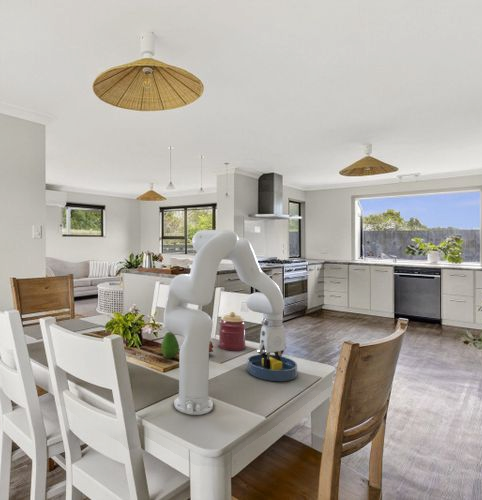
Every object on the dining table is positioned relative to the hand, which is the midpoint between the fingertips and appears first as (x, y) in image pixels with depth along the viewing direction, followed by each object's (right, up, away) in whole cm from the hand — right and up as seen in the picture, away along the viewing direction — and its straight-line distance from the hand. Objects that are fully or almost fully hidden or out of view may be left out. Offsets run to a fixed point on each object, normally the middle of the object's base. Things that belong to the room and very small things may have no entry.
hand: (271, 366), depth 147 cm
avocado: (-41, -2, +17) cm, 44 cm away
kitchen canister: (-9, -1, +34) cm, 35 cm away
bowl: (0, -3, 0) cm, 3 cm away
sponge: (0, 0, 0) cm, 0 cm away
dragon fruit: (-25, -2, +20) cm, 33 cm away
